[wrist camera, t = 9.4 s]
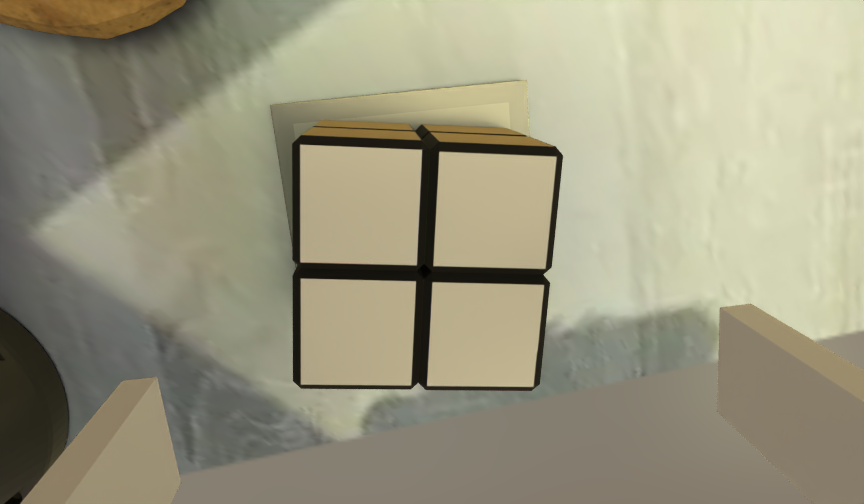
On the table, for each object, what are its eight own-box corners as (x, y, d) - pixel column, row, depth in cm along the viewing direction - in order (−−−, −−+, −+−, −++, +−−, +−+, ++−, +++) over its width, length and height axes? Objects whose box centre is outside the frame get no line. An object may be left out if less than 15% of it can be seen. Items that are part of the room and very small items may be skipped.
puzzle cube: (497, 309, 36) (541, 394, 26) (315, 306, 35) (291, 393, 25) (511, 127, 33) (566, 146, 24) (315, 118, 32) (289, 135, 23)
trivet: (310, 337, 37) (307, 346, 35) (274, 104, 33) (270, 105, 32) (534, 310, 37) (539, 318, 36) (521, 80, 34) (526, 80, 33)
